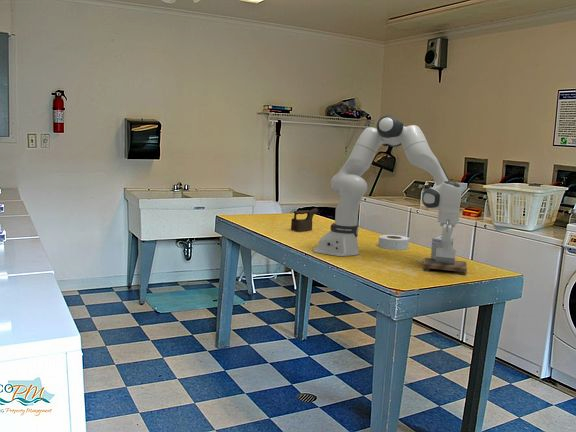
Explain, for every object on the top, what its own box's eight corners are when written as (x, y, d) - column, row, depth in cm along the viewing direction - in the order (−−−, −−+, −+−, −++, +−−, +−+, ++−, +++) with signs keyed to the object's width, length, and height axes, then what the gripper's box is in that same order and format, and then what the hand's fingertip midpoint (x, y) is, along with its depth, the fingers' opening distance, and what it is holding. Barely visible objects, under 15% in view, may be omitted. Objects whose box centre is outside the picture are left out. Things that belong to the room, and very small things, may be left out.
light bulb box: (439, 256, 265) (441, 235, 263) (452, 259, 261) (454, 237, 259) (429, 259, 257) (431, 237, 255) (443, 262, 252) (445, 240, 251)
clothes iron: (319, 230, 324) (320, 209, 322) (296, 232, 316) (298, 209, 314) (312, 228, 331) (313, 207, 329) (290, 230, 322) (291, 208, 320)
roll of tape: (372, 244, 288) (373, 234, 288) (397, 243, 294) (398, 233, 293) (388, 251, 274) (388, 240, 273) (414, 249, 280) (415, 239, 279)
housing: (453, 265, 234) (455, 251, 233) (435, 262, 237) (436, 249, 236) (454, 262, 239) (455, 249, 238) (436, 260, 241) (437, 247, 241)
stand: (423, 270, 234) (423, 264, 234) (424, 263, 247) (425, 257, 247) (466, 275, 229) (466, 268, 228) (465, 268, 242) (466, 261, 242)
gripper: (455, 222, 224) (452, 254, 226) (456, 216, 243) (453, 246, 245) (440, 221, 225) (436, 253, 227) (441, 215, 245) (439, 244, 247)
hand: (445, 249), depth 236 cm, fingers open, 8 cm apart
